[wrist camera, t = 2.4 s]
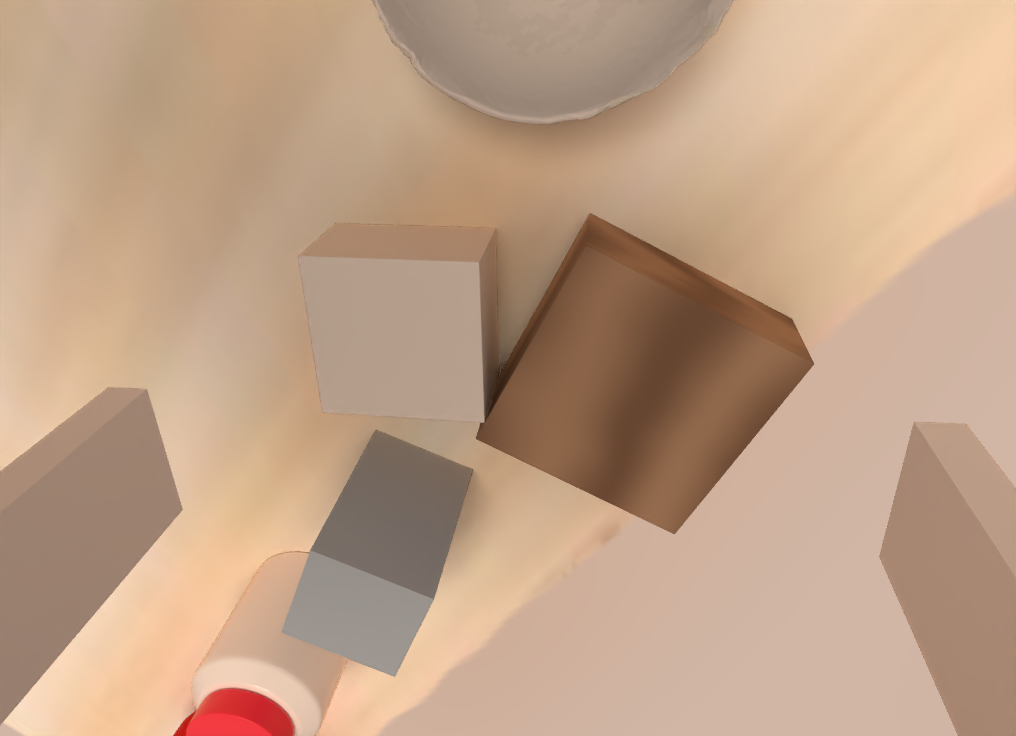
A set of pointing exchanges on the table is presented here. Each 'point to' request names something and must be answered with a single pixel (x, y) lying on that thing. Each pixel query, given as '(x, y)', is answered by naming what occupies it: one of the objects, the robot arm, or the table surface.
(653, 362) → the walnut block
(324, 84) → the table surface
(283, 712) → the pill bottle
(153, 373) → the table surface
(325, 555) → the slate block
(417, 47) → the teacup
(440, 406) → the grey block
